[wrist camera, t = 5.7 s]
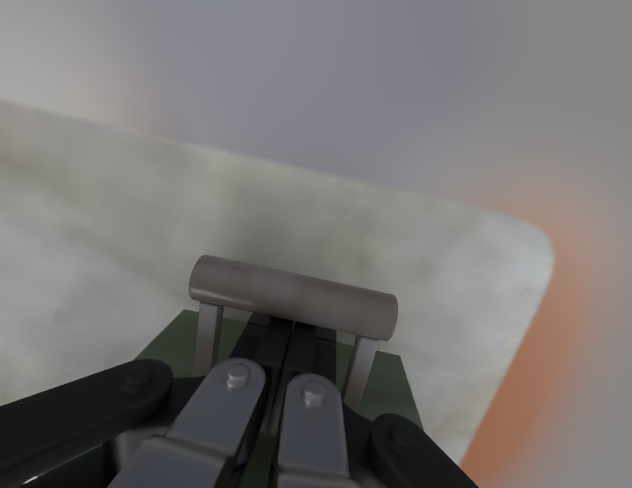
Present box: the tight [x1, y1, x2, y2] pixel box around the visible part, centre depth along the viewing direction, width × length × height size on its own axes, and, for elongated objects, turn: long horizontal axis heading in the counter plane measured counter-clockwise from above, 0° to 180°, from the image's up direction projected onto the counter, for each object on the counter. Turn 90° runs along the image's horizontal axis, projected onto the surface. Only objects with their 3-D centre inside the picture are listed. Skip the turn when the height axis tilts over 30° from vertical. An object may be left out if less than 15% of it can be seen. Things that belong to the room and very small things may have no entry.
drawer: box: [24, 255, 424, 488], centre depth 12 cm, size 18×11×8 cm, turn 169°
